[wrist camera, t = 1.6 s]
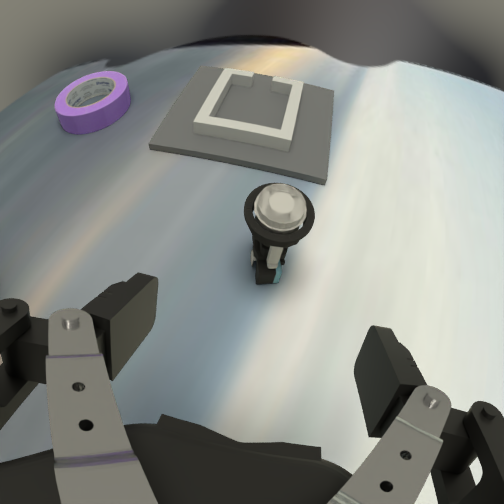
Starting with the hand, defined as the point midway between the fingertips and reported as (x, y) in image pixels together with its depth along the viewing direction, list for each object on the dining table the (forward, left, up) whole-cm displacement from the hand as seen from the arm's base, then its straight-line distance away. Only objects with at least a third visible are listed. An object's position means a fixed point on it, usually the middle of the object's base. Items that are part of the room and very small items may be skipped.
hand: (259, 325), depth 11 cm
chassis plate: (-6, +33, -17) cm, 38 cm away
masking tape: (-30, +30, -18) cm, 46 cm away
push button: (0, +12, -18) cm, 21 cm away
